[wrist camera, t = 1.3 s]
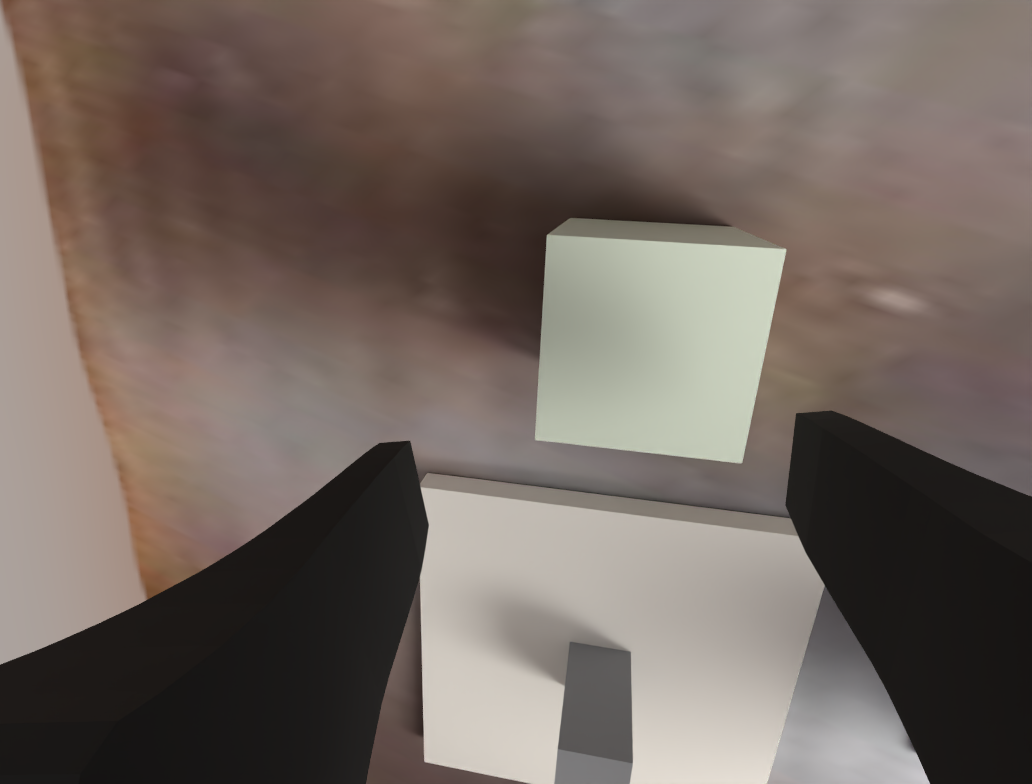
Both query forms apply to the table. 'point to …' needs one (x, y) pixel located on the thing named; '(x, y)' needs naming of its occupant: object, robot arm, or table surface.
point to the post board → (607, 635)
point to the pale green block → (654, 336)
